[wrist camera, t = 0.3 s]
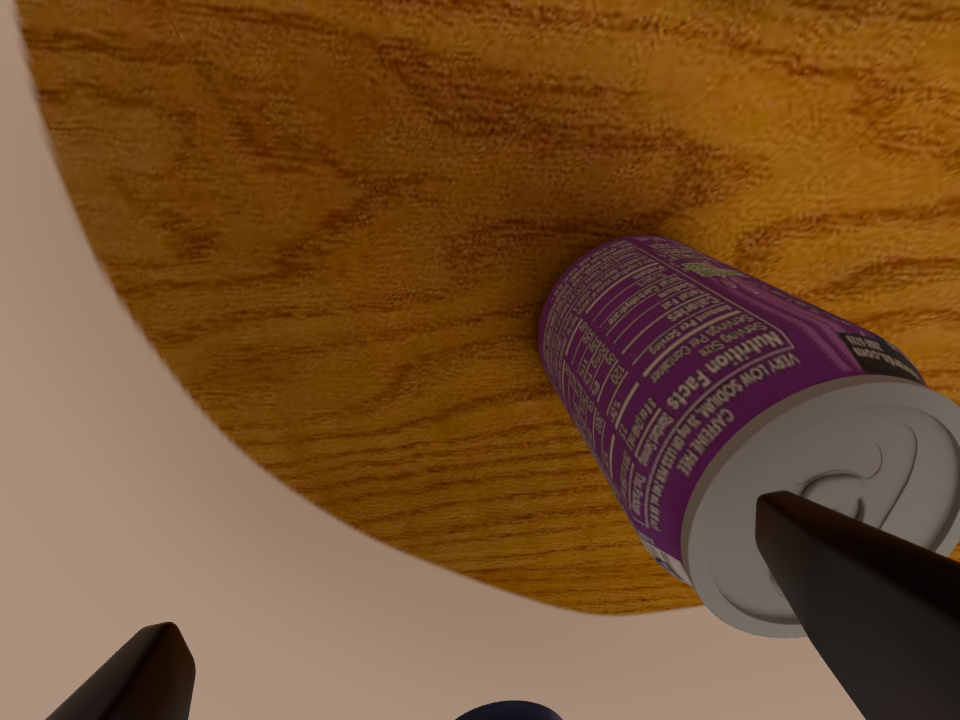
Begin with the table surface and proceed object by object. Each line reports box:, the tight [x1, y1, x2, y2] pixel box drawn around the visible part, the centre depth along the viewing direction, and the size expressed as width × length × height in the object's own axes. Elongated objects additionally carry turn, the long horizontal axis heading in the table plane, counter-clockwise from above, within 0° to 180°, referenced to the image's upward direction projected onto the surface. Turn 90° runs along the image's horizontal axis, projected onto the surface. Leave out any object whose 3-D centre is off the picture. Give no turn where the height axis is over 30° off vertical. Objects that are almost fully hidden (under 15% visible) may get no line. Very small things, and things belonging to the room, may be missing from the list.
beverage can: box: [538, 235, 960, 638], centre depth 17 cm, size 7×7×12 cm
